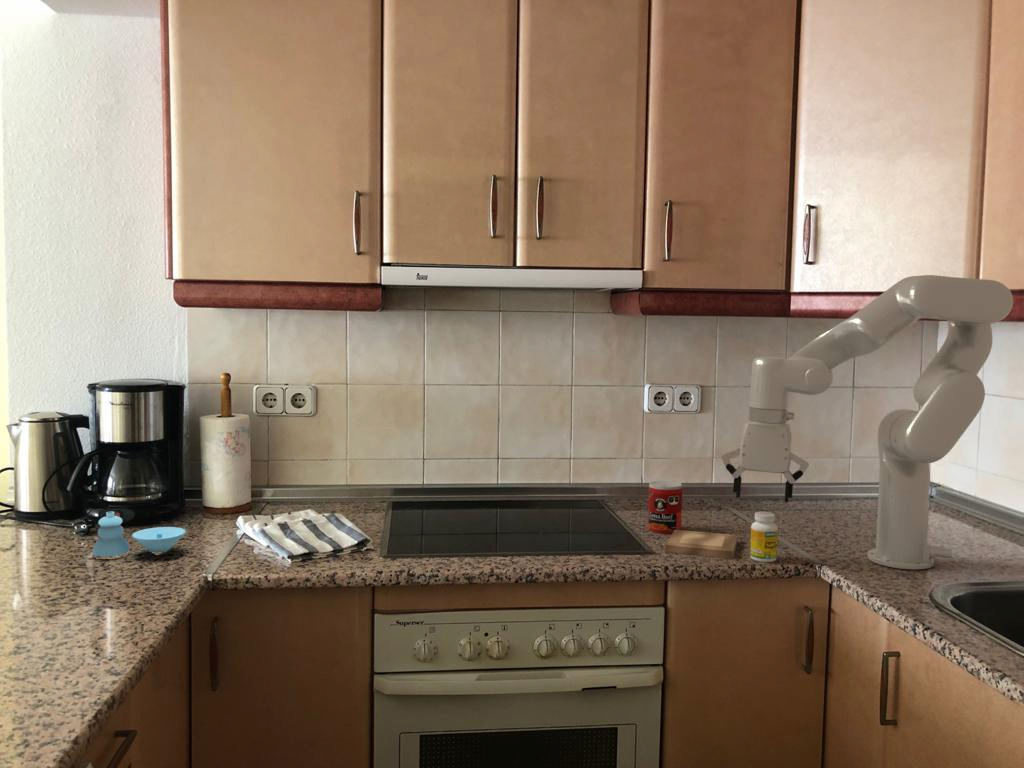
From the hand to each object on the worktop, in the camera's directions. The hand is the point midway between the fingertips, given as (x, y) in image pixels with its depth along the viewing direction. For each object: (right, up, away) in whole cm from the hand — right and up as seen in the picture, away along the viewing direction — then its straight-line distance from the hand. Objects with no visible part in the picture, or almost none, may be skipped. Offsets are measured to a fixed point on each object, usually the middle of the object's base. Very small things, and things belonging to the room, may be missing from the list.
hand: (762, 498), depth 180 cm
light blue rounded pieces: (-128, -12, -1) cm, 129 cm away
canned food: (-16, -11, +24) cm, 31 cm away
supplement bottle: (+1, -13, +1) cm, 13 cm away
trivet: (-10, -12, +10) cm, 18 cm away
